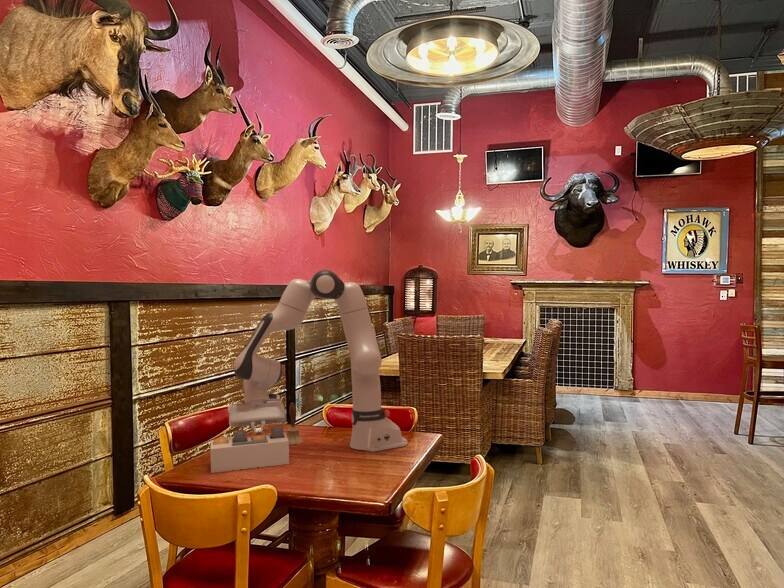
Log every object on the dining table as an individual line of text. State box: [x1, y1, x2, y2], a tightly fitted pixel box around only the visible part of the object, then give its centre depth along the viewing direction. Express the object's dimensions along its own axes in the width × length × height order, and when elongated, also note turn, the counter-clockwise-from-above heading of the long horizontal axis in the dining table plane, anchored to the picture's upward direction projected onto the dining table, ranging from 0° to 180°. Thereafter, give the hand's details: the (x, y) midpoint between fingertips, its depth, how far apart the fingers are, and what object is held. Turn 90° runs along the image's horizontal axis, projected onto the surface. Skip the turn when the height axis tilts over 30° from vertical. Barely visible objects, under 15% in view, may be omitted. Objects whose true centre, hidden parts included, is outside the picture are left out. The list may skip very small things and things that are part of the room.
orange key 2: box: [252, 433, 266, 440], centre depth 194 cm, size 4×4×6 cm
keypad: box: [209, 432, 290, 474], centre depth 191 cm, size 26×12×8 cm, turn 107°
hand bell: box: [286, 402, 304, 446], centre depth 218 cm, size 8×8×16 cm
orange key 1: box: [213, 437, 228, 445], centre depth 190 cm, size 4×4×6 cm
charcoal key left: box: [270, 426, 284, 439], centre depth 196 cm, size 4×4×6 cm
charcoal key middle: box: [232, 429, 247, 442], centre depth 192 cm, size 4×4×6 cm
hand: (258, 433), depth 194 cm, fingers closed, pressing on orange key 2
